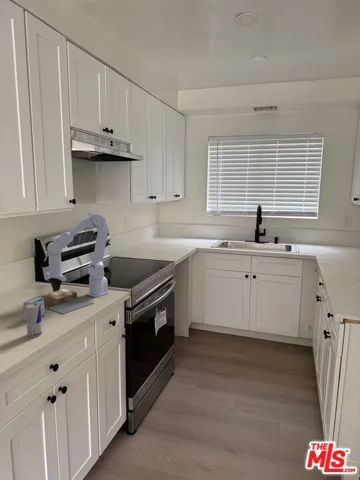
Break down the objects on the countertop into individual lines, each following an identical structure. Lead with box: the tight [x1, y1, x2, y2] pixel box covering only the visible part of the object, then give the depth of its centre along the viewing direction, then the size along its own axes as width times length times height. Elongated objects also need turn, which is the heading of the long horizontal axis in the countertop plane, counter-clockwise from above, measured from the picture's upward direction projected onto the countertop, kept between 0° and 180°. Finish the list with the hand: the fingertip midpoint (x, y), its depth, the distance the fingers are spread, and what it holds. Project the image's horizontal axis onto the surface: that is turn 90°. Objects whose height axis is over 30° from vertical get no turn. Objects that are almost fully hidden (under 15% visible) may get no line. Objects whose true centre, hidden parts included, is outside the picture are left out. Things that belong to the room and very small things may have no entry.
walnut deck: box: [36, 290, 78, 308], centre depth 168 cm, size 16×10×4 cm, turn 144°
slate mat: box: [47, 297, 95, 315], centre depth 161 cm, size 18×12×1 cm, turn 144°
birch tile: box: [48, 288, 73, 299], centre depth 165 cm, size 9×6×2 cm, turn 144°
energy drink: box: [25, 303, 43, 338], centre depth 129 cm, size 5×5×12 cm
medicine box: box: [22, 296, 46, 322], centre depth 146 cm, size 8×4×9 cm, turn 164°
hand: (56, 292), depth 168 cm, fingers closed
